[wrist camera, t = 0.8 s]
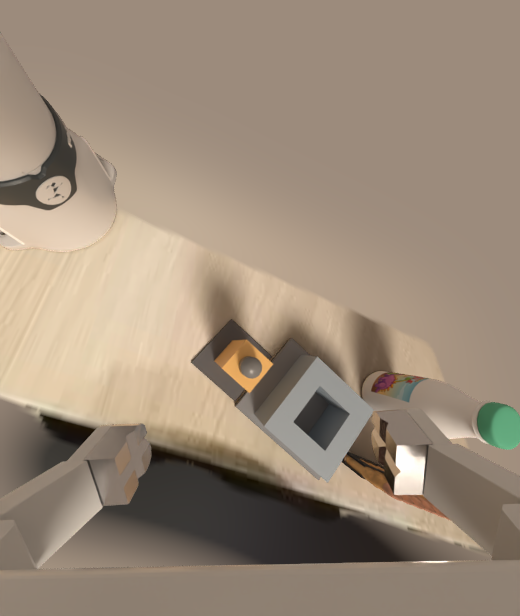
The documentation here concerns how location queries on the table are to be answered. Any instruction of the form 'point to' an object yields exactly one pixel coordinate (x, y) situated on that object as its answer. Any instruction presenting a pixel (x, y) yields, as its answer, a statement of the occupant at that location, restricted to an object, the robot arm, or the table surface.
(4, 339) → the table surface
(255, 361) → the plug
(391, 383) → the milk bottle
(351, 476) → the table surface
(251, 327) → the table surface
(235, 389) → the mat
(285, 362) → the housing
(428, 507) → the ammunition clip
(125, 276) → the table surface
